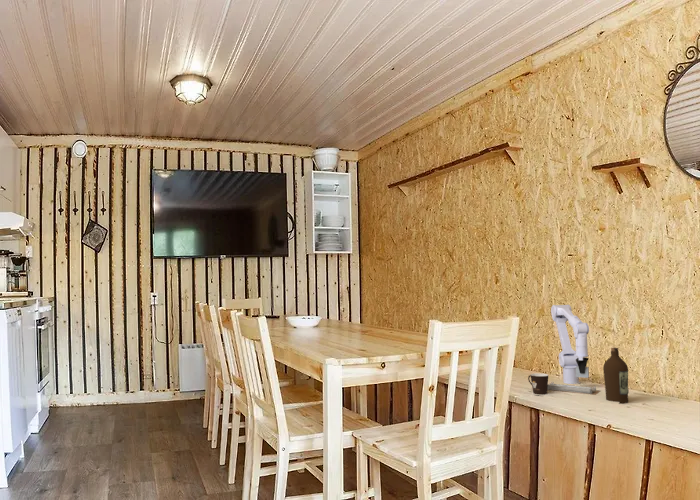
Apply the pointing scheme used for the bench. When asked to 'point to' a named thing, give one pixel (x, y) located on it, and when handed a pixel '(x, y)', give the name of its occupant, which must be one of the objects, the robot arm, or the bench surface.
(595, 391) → the board
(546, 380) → the coffee mug
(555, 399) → the bench surface
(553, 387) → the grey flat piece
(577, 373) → the block
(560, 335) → the robot arm
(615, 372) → the olive oil
